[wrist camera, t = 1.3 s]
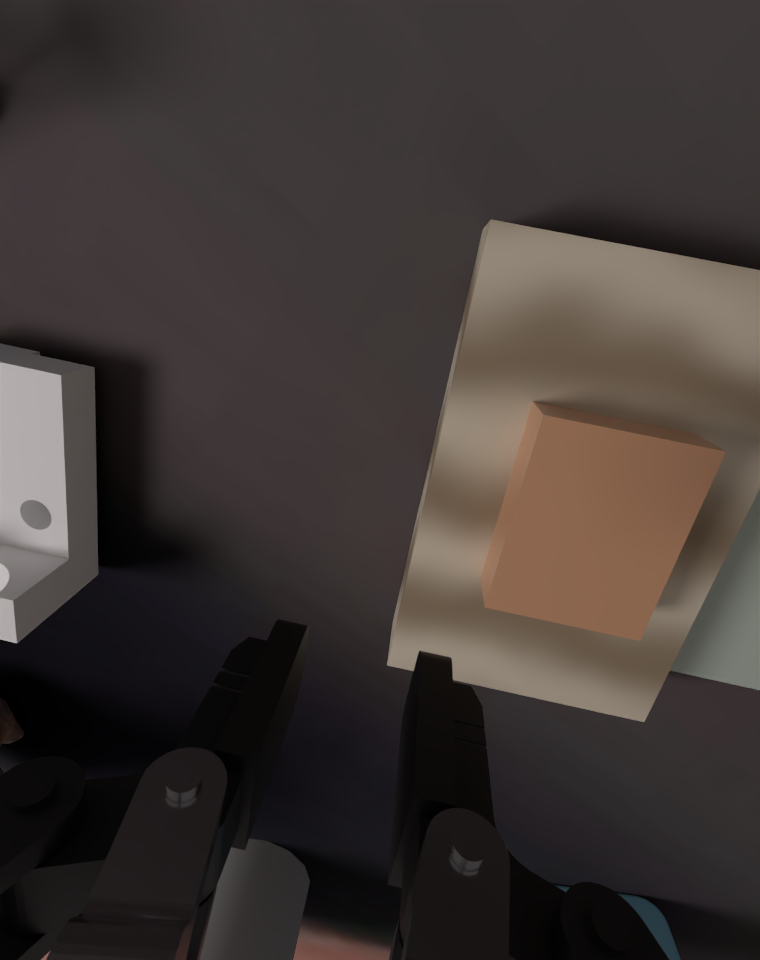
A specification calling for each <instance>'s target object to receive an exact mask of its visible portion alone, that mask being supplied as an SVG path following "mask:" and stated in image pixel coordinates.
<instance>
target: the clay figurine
mask: <svg viewBox="0 0 760 960" xmlns="http://www.w3.org/2000/svg"><path fill="white" fill-rule="evenodd" d="M23 735H24V731H23V729H22V728H21V727H20V725H19V724H18V723H17V720H16V719H15V717H14V716H13V712H12V711H11V710H10V708H9V706H8V704H7V702H6V701H5V700H3V699H2V698H0V746H1V744H9V743H11V742H14V741H17V740H19V739H21V738H22V737H23ZM2 774H3V771H2V770H1V768H0V775H2Z"/></svg>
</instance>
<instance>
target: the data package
mask: <svg viewBox="0 0 760 960" xmlns="http://www.w3.org/2000/svg"><path fill="white" fill-rule="evenodd" d="M555 886H556V887H558V888H560V889H561V890H563V891H565V892H566V891H567V890H568V889H569V888H570V887H566V886H559V885H555ZM617 894H618V895H620V896H621V897H622V898H623V899H625V900H626V901H627V902H628V903H629V904H630V905H631V906H632V907H633V908H634V909H635V910H636V912H637V913H638V914H639V916H640V917H641V918H642V920H643V921H644V922H645V924H646V925H647V927H648V928H649V930H650V931H651V933H652V934H653V936H654V937H655V939H656V940H657V942H658V943H659V945H660V946H661V948H662V949H663V951H664V952H665V954H666V955H667V957H668V958H669V960H681V959H680V956H679V953H678V951H677V948H676V945H675V942H674V939H673V937H672V934H671V931H670V928H669V925H668V923H667V921H666V919H665V917H664V916H663V914H662V913H661V911H660V910H659V909H658V908H657V907H656V906H655V905H654V904H652V903H651V902H650V901H648V900H646V899H644V898H642V897H639V896H633V895H626V894H619V893H617Z"/></svg>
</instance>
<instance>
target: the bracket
mask: <svg viewBox="0 0 760 960" xmlns="http://www.w3.org/2000/svg"><path fill="white" fill-rule="evenodd" d="M97 575H98V531H97V474H96V417H95V367H91V366H87V365H82V364H77V363H73V362H68V361H63V360H59V359H54V358H49V357H45V356H40V352H38V351H33V350H28V349H24V348H19V347H14V346H10V345H5V344H0V639H1V640H5V641H9V642H13V643H18V642H19V641H20V640H22V639H23V638H24V637H25V636H26V635H27V634H29V633H30V632H31V631H32V630H33V629H35V628H36V627H37V626H38V625H39V624H40V623H42V622H43V621H44V620H45V619H46V618H47V617H49V616H50V615H51V614H52V613H53V612H55V611H56V610H57V609H58V608H59V607H60V606H62V605H63V604H64V603H65V602H66V601H67V600H69V599H70V598H71V597H72V596H73V595H75V594H76V593H77V592H78V591H79V590H80V589H82V588H83V587H84V586H85V585H86V584H88V583H89V582H90V581H91V580H92V579H93V578H95V577H96V576H97Z"/></svg>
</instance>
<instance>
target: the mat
mask: <svg viewBox="0 0 760 960" xmlns="http://www.w3.org/2000/svg"><path fill="white" fill-rule="evenodd" d="M670 671H674V672H679V673H683V674H688V675H693V676H697V677H702V678H707V679H711V680H716V681H720V682H725V683H730V684H734V685H739V686H743V687H748V688H753V689H757V690H760V489H759V491H758V493H757V495H756V497H755V499H754V501H753V503H752V505H751V507H750V509H749V511H748V513H747V515H746V517H745V519H744V521H743V523H742V525H741V527H740V529H739V531H738V533H737V535H736V537H735V539H734V542H733V544H732V546H731V548H730V550H729V552H728V554H727V556H726V558H725V560H724V562H723V564H722V566H721V568H720V570H719V572H718V574H717V576H716V578H715V580H714V582H713V584H712V586H711V588H710V590H709V592H708V594H707V596H706V598H705V600H704V602H703V604H702V606H701V608H700V610H699V612H698V614H697V616H696V618H695V620H694V622H693V624H692V626H691V628H690V630H689V632H688V634H687V637H686V639H685V641H684V643H683V645H682V647H681V649H680V651H679V653H678V655H677V657H676V659H675V661H674V663H673V665H672V667H671V669H670Z"/></svg>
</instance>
